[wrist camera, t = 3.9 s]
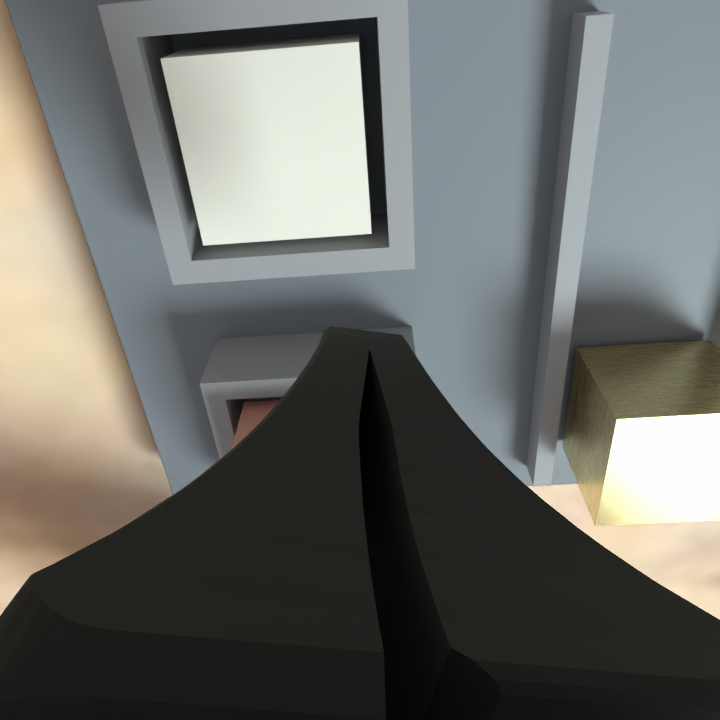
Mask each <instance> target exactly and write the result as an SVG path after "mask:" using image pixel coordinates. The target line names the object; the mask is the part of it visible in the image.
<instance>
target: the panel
mask: <svg viewBox="0 0 720 720" xmlns="http://www.w3.org/2000/svg"><path fill="white" fill-rule="evenodd" d="M5 2H6V5H7V8H8V11H9V14H10V17H11V20H12V23H13V26H14V29H15V31H16V34H17V37H18V40H19V43H20V46H21V49H22V52H23V55H24V58H25V61H26V64H27V67H28V70H29V73H30V76H31V78H32V81H33V84H34V87H35V90H36V93H37V96H38V99H39V102H40V105H41V108H42V111H43V114H44V117H45V120H46V123H47V126H48V128H49V131H50V134H51V137H52V140H53V143H54V146H55V149H56V152H57V155H58V158H59V161H60V164H61V167H62V170H63V173H64V175H65V178H66V181H67V184H68V187H69V190H70V193H71V196H72V199H73V202H74V205H75V208H76V211H77V214H78V217H79V220H80V223H81V225H82V228H83V231H84V234H85V237H86V240H87V243H88V246H89V249H90V252H91V255H92V258H93V261H94V264H95V267H96V270H97V272H98V275H99V278H100V281H101V284H102V287H103V290H104V293H105V296H106V299H107V302H108V305H109V308H110V311H111V314H112V317H113V319H114V322H115V325H116V328H117V331H118V334H119V337H120V340H121V343H122V346H123V349H124V352H125V355H126V358H127V361H128V364H129V367H130V369H131V372H132V375H133V378H134V381H135V384H136V387H137V390H138V393H139V396H140V399H141V402H142V405H143V408H144V411H145V414H146V416H147V419H148V422H149V425H150V428H151V431H152V434H153V437H154V440H155V443H156V446H157V449H158V452H159V455H160V458H161V461H162V464H163V466H164V469H165V472H166V475H167V478H168V481H169V484H170V487H171V490H172V493H173V494H175V493H177V492H178V491H180V490H181V489H182V488H184V487H185V486H186V485H188V484H189V483H191V482H192V481H193V480H195V479H196V478H197V477H199V476H200V475H201V474H202V473H204V472H205V471H206V470H207V469H209V468H210V467H211V466H212V465H213V464H215V463H216V462H217V461H218V460H220V459H221V458H222V457H223V456H225V455H226V454H227V453H228V452H229V451H230V450H232V445H233V441H234V438H235V434H236V430H237V427H238V423H239V420H240V416H241V412H242V409H243V405H244V402H251V401H268V400H280V399H281V398H282V397H283V396H284V395H285V393H286V392H287V391H288V390H289V389H290V387H291V386H292V385H293V383H294V382H295V381H296V379H297V378H298V376H299V375H300V374H301V372H302V371H303V369H304V368H305V367H306V365H307V364H308V362H309V360H310V359H311V357H312V356H313V354H314V352H315V351H316V349H317V347H318V345H319V343H320V340H321V338H322V335H323V331H325V330H326V329H328V328H329V327H330V326H334V327H342V328H350V329H358V330H367V331H375V332H383V333H391V334H399V335H402V336H403V337H404V338H405V340H406V341H407V343H408V344H409V346H410V347H411V349H412V350H413V352H414V353H415V355H416V357H417V358H418V360H419V361H420V363H421V364H422V366H423V367H424V369H425V370H426V372H427V373H428V375H429V376H430V378H431V379H432V380H433V382H434V383H435V385H436V386H437V387H438V389H439V390H440V392H441V393H442V394H443V396H444V397H445V398H446V400H447V401H448V402H449V404H450V405H451V406H452V408H453V409H454V410H455V411H456V413H457V414H458V415H459V416H460V418H461V419H462V420H463V421H464V422H465V423H466V425H467V426H468V427H469V428H470V429H471V430H472V432H473V433H474V434H475V435H476V436H477V437H478V438H479V440H480V441H481V442H482V443H483V444H484V445H485V446H486V447H487V448H488V449H489V450H490V451H491V452H492V453H493V454H494V455H495V456H496V457H497V458H498V459H499V460H500V461H501V462H502V463H503V464H504V465H505V466H506V467H507V468H508V469H509V470H510V471H511V472H512V473H513V474H514V475H515V476H517V477H518V478H519V479H520V480H521V481H522V482H523V483H524V484H525V485H526V486H550V485H562V484H578V483H577V481H576V478H575V476H574V473H573V471H572V469H571V466H570V464H569V461H568V459H567V457H566V454H565V452H564V449H563V447H562V446H563V439H564V432H565V425H566V418H567V411H568V404H569V397H570V390H571V383H572V376H573V369H574V362H575V355H576V348H582V347H599V346H615V345H632V344H649V343H665V342H682V341H698V340H711V342H712V343H713V344H714V345H715V346H716V347H717V348H718V349H719V350H720V0H5ZM354 33H359V38H360V53H361V68H362V83H363V98H364V113H365V128H366V143H367V158H368V173H369V188H370V203H371V232H372V234H362V235H348V236H333V237H319V238H305V239H290V240H276V241H262V242H247V243H233V244H219V245H204V246H203V242H202V238H201V233H200V229H199V225H198V220H197V216H196V212H195V207H194V203H193V199H192V194H191V190H190V186H189V181H188V177H187V173H186V168H185V164H184V160H183V155H182V151H181V146H180V142H179V138H178V133H177V129H176V125H175V120H174V116H173V112H172V107H171V103H170V99H169V94H168V90H167V86H166V81H165V77H164V73H163V68H162V64H161V58H163V57H165V56H167V55H170V54H172V53H174V52H177V51H179V50H181V49H184V48H189V47H201V46H213V45H225V44H236V43H248V42H260V41H272V40H284V39H295V38H307V37H319V36H331V35H343V34H354Z"/></svg>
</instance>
